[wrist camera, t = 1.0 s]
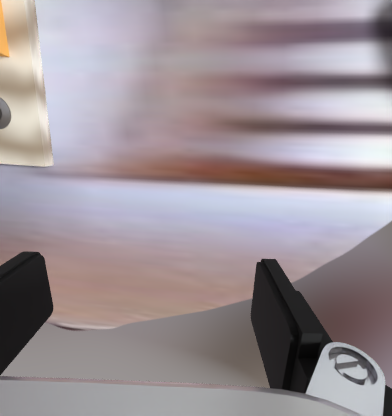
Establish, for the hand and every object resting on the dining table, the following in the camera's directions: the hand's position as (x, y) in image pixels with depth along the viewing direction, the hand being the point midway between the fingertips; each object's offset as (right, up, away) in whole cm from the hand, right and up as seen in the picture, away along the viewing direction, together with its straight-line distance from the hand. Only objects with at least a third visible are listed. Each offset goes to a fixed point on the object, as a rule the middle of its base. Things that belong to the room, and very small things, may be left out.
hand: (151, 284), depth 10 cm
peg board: (-25, +21, +22) cm, 40 cm away
